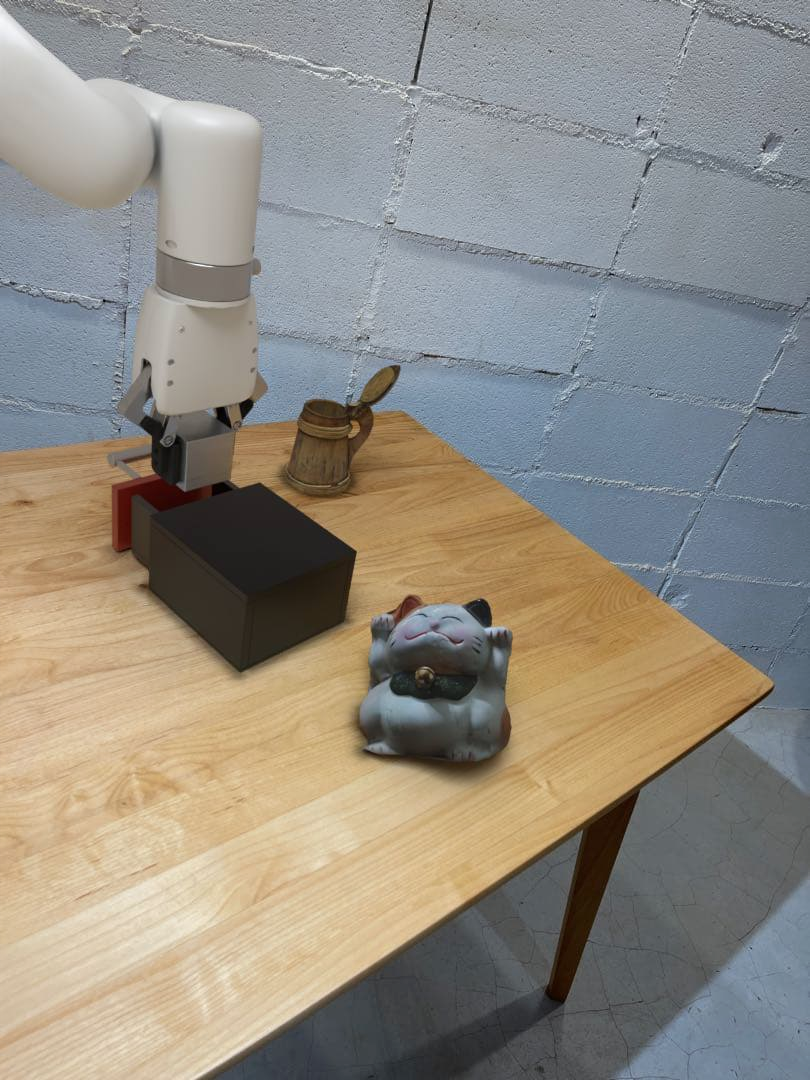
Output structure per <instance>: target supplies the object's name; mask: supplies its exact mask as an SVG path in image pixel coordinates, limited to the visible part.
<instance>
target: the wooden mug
mask: <svg viewBox="0 0 810 1080" xmlns="http://www.w3.org/2000/svg"><path fill="white" fill-rule="evenodd" d="M401 371H402V367H401V365H400V364H392V365H388V366H386V367H385V366H384V367H383V368H381V369H379V370H378V371H377V372H376V373H374V375H373V376H372V377H371V378H370V379H368V381H367V383H366V384H365V386H364V387H363V389H362V391H361V395H360V397H359V398H358V399H357V401H356V402H347V403H346V404H345V406H344V405H343V404H341V403H339V402H338V401H335V400H332V399H326V398H312V399H309V400H307V401H305V402H304V403H303V405H302V410H301V412H300V413H299V415H298V417H297V421H296V426H297V431H296V436H295V439H294V443H293V447H292V450H291V455H290V459H289V461H288V462H287V464H286V465H285V470H284V473H283V478H284V481H285V482H286V483H287V485H288V486H290V487H291V488H292V489H295V490H297V491H299V492H301V493H305V494H308V495H313V496H315V495H316V496H331V495H335V494H340V493H342V492H344V491H346V490H347V488H348V487H349V485H350V483H351V472H350V466H351V464H352V461H353V458H354V457H355V455H356V454H357V453H358V452H359V450H360V449H361V448H362V446H363V445H364V444H365V443H366V441H367V440H368V438H369V437H370V435H371V433H372V430H373V428H374V420H375V419H374V412H373V410H372V407H373V406H375V405H377V404H378V403H379V402H381V401H382V400H383V399H384V398H385V397H387V396H388V394H389V393H390V392H391V391H392V389H393V388H394V386H395V385H396V383H397V382H398V380H399V377H400V374H401ZM352 422H357V423H358V425H359V430H358V432H357V433H356V434H355V435H354V436H352V437H349V435H350V433H351V432H352V430H353V429H354V425H353V423H352Z"/></svg>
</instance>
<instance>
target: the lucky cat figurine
mask: <svg viewBox="0 0 810 1080" xmlns="http://www.w3.org/2000/svg"><path fill="white" fill-rule="evenodd" d="M492 625H493V616H492V610H491V606H490V604H489V601H487V600H486V599H485V598H482V597H479V598H477V599H474V600H471V601H467V602H466V603H463V604H459V603H455V602H442V603H437V602H436V603H434V602H433V603H429V604H427V603H425V602H424V601H423V600H422V598H421V596H418V595H415V594H411V593H409V594H406V596H405V597H404V599H403V600H402V601H401V602H400V603H399V604H398V606H397V607H396V608H394V609H392V610H390V611H387V612H384V613H381V614H380V615H375V616H373V617H372V618H371V619H370V626H369V628H370V634H371V645H370V647H369V652H368V656H369V657H368V661H367V664H368V667H369V685H368V692H367V695H366V696H365V697H364V698H363V700H362V702H361V704H360V707H359V712H358V714H359V718H358V721H359V723H358V727H359V728H360V730H361V732H362V734H363V735H364V737H365V739H366V740H367V742H368V743H367V745H365V746H363V747H362V749H363V750H366V751H369V752H371V753H374V754H377V755H391V756H392V755H393V756H394V755H395V756H396V755H401V756H402V755H404V756H412V757H420V758H424V759H425V758H426V759H433V760H439V761H445V762H453V763H457V762H476V763H478V762H480V761H484V760H487V759H491V757H493V756H495V755H498V754H499V753H501V752H502V751H503V750H504V749H505V748H507V746H508V744H509V742H510V739H511V734H512V722H511V721H512V719H511V715H510V712H509V708H508V707H507V703H506V692H507V691H506V690H507V689H506V688H507V687H506V686H507V681H508V672H509V671H508V670H509V663H510V657H511V656H512V650H513V639H514V636H513V634H514V633H513V631H512V630H510V628H509V627H506V626H504V625H501V626H497V625H495V626H492Z"/></svg>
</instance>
